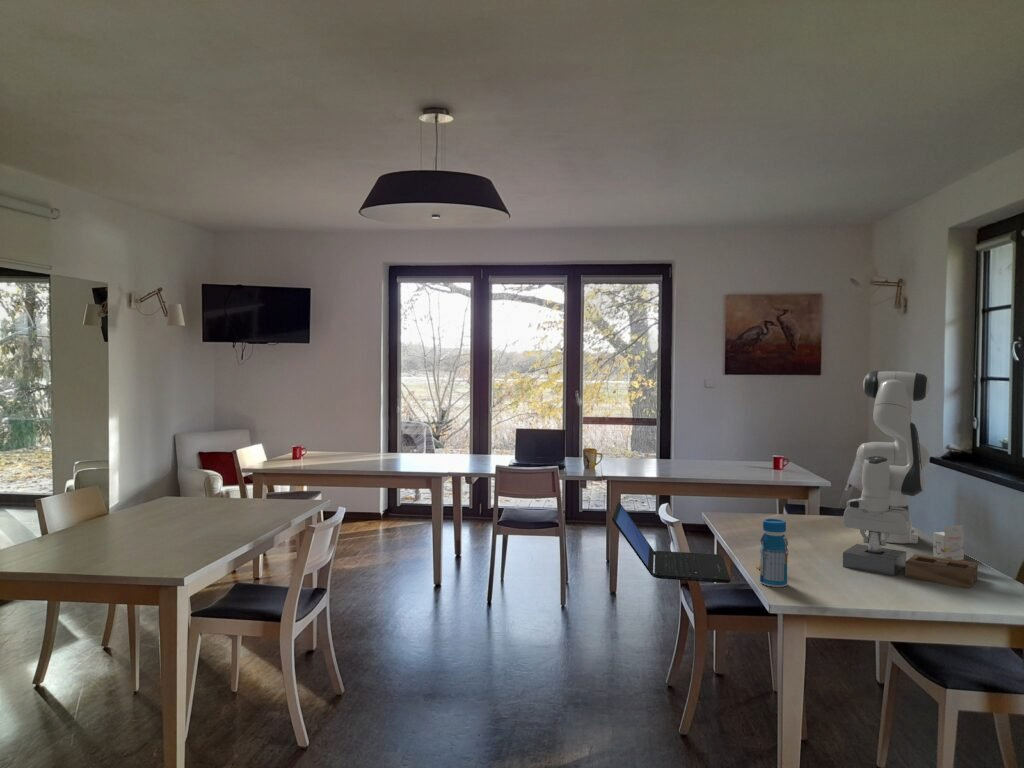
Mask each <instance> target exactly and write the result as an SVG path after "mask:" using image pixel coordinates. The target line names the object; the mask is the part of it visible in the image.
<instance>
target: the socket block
mask: <svg viewBox="0 0 1024 768" xmlns="http://www.w3.org/2000/svg"><path fill="white" fill-rule="evenodd" d="M906 561H907V551H904V550H899V549H898V550H897V549H892V548H885V547H881V555H879V554H873V553H868V545H866V544H860V543H856V544H854V545H853V546H851V547H849V548H847V549H846V550H845V551H843V552H842V568H848V569H855V570H860V571H865V572H870V573H876V574H882V575H888V576H896V575H897V574H899V572H901V571H902V570H903V569H905V562H906Z"/></svg>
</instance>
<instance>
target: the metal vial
mask: <svg viewBox="0 0 1024 768" xmlns="http://www.w3.org/2000/svg"><path fill="white" fill-rule="evenodd" d="M868 532H869V534H868V543H867V544H868V545H867V546H868V553H873V554H879V555H881V548H882V545H880V543H881V542H880V541H881V537H882V532H875V531H868Z"/></svg>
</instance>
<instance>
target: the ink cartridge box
mask: <svg viewBox="0 0 1024 768" xmlns="http://www.w3.org/2000/svg"><path fill="white" fill-rule="evenodd" d="M943 528H944V531H939V532H938V531H937V532H936V531H935V532H933V535H932V536H933V538H932V539H933V540H932V543H933V544H932V546H933V547H932V548H933V552H932V555H933V557H940V558H946V559H952V560H959V561H965V560H964V559H965V534H964V525H963V524H961V525H946V526H944V527H943ZM953 529H954V530H953Z"/></svg>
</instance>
